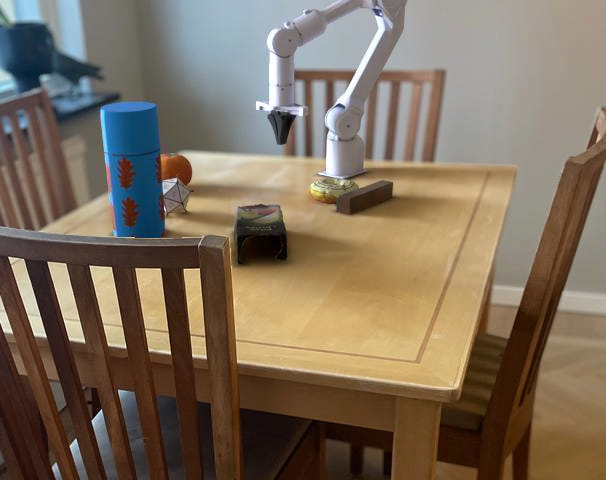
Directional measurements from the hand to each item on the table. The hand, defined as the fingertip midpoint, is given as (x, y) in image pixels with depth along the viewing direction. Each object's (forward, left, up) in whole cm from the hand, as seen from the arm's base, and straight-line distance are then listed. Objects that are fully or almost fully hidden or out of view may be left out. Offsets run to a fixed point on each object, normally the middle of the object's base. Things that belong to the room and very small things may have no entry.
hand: (281, 144), depth 191 cm
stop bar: (+5, +28, -8) cm, 30 cm away
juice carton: (+40, +29, -9) cm, 50 cm away
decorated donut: (+5, +20, -9) cm, 23 cm away
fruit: (+23, -15, -9) cm, 29 cm away
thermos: (+50, +5, -9) cm, 51 cm away
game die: (+36, 0, -9) cm, 37 cm away
